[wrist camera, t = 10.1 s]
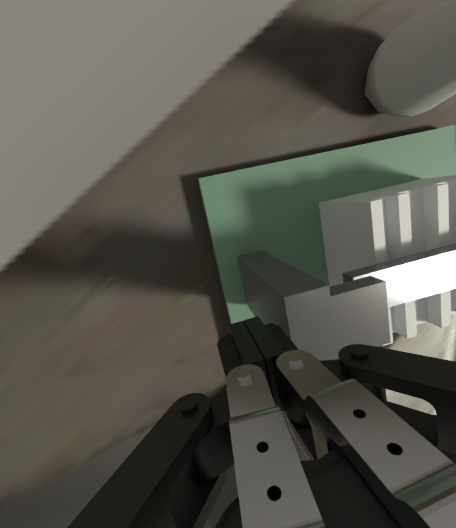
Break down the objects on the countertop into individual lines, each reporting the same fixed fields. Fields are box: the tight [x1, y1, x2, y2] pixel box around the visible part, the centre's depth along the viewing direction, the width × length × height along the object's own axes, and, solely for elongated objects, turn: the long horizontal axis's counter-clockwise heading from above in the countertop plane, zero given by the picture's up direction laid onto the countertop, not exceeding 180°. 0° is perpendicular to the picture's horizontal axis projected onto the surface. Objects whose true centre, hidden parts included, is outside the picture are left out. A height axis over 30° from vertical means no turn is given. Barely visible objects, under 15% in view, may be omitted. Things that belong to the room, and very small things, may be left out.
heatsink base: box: [198, 125, 456, 346], centre depth 19 cm, size 16×21×10 cm
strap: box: [342, 243, 456, 308], centre depth 16 cm, size 3×13×1 cm, turn 102°
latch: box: [237, 250, 391, 360], centre depth 17 cm, size 4×5×10 cm
